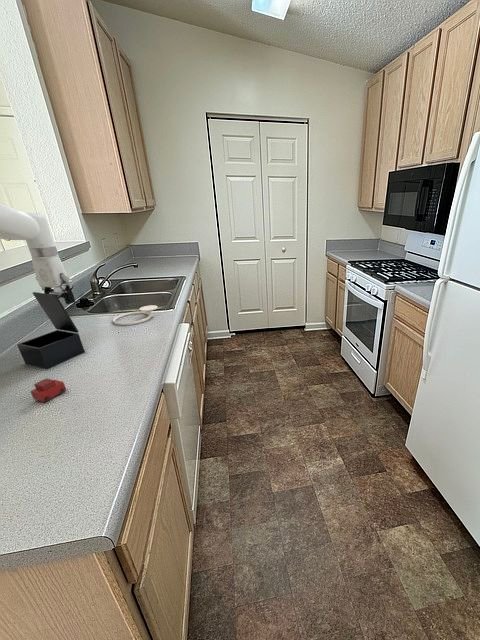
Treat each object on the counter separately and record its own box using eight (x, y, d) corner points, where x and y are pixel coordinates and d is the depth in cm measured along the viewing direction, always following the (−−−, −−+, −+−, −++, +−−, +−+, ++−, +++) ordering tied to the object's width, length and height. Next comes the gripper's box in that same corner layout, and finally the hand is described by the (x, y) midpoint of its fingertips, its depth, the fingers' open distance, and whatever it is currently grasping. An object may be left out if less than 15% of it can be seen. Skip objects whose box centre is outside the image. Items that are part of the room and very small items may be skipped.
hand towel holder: (111, 308, 160) (156, 302, 167) (113, 316, 162) (158, 310, 169) (109, 318, 146) (159, 311, 154) (112, 327, 148) (161, 320, 156)
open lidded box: (47, 369, 113) (38, 348, 110) (25, 364, 117) (16, 344, 114) (85, 352, 125) (78, 333, 122) (64, 348, 129) (57, 329, 126)
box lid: (54, 295, 112) (67, 288, 116) (32, 292, 116) (45, 286, 119) (77, 332, 121) (88, 325, 125) (56, 329, 125) (67, 322, 129)
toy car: (43, 403, 94) (37, 388, 92) (34, 401, 96) (27, 386, 94) (67, 391, 100) (61, 377, 98) (58, 389, 102) (52, 374, 99)
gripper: (16, 253, 112) (35, 302, 120) (50, 255, 106) (68, 307, 114) (38, 250, 118) (55, 297, 126) (72, 252, 113) (87, 301, 120)
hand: (61, 301), depth 120 cm, fingers open, 9 cm apart
